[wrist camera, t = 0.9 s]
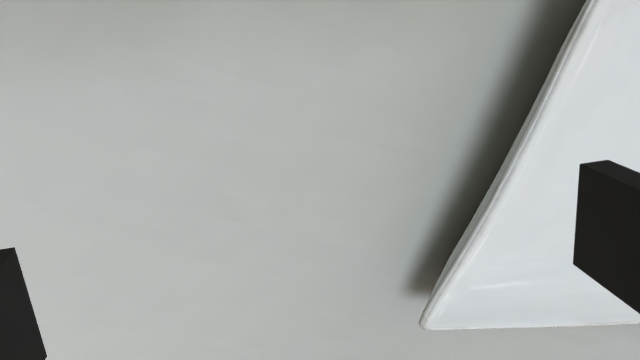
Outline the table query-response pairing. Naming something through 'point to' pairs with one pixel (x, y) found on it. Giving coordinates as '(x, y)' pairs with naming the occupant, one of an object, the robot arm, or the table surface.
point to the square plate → (550, 190)
